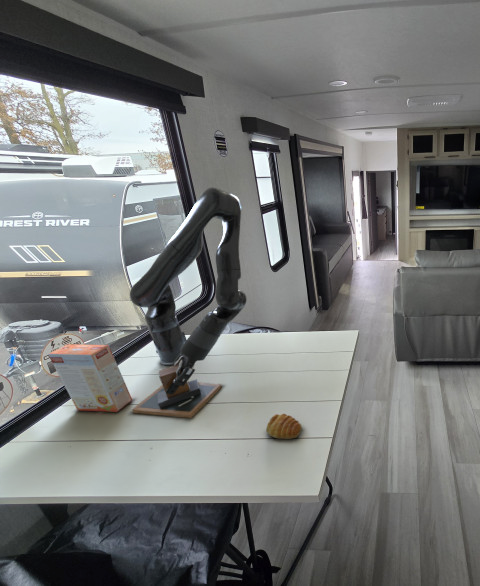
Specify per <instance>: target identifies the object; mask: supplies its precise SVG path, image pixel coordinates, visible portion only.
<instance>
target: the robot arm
mask: <svg viewBox="0 0 480 586" xmlns="http://www.w3.org/2000/svg"><path fill="white" fill-rule="evenodd" d="M213 219H217V220H221V222H222V227H223V234H222V238H221V240H220V243H219V244H218V246H217V249H216V252H215V267H216V268H215V269H216V277H217V278H216V284H215V292H214V293H215V294H214V295H215V301H216V303H217V307H216V308H214V309H213V310H210V311H209V312H208V313H207V314H205V315H204V317H203V319H202V320H201V321H200V323H199V324H198V325H197V326H196V327H195V328H194V329H193V331H192V332H191V333H190V335H189V336H188V337H186V334H185V331H182V329H181V326H180V323H179V319H178V317H177V314H176V309H177V308H176V302H175V298H174V294H173V291H172V288H171V285H170V284H171V283H172V282H173V281H174V280H175V279H176V278H177V277H179V276H180V275H181V274H182V273H184V272H185V271H186V270H187V269H188V268H189V267H190V266H191V265H192V264H193V263H194V262H195V261H196V259H197V258H198V257H199V255H201V252H202V251H203V248H204V247H203V246H204V235H203V234H204V230H205V228H206V226H207V225H208V224H209V223H210V222H211V221H212V220H213ZM241 219H242V206H241V202H240V199H239V198H238V196H236V195H234V194H232V193H229V192H227V191H224V190H222V189H220V188H217V187H208V188H206V189H204V191H203V192H202V193H201V194H200V195H199V196H198V198H197V200H196V201H195V204H194V205H193V207H192V209H191V210H190V212H189V214H188V215H187V217H186V219H185V220H184V221H183V223H182V224H181V225H180V227H179V228H178V230H177V231H176V232H175V234H174V235H173V236H172V237H171V238H170V239H169V241H168V242H167V243H166V245H165V246H164V247H163V249H162V251H161V252H160V253H159V254H158V255H157V257H156V259H155V260H154V262H153V263H152V264H151V266H150V268H149V269H148V270H147V271H146V273H144V275H143V276H142V277H141V278H140V279H138V280H137V281H136V282H135V283H134V284H133V285H132V286H131V288H130V291H129V298H130V301H131V302H132V303H133V305H135V306H136V307H139V308H147V310H146V312H145V314H144V321H145V323H146V326H147V328H148V332H149V334H150V337H151V338H152V342H153V345H154V346H155V349H156V350H155V352H156V354H157V356H158V358H159V361H160V364H161V365H163V366H171V367H172V366H175V365H178V366H179V367H178V369H177V371H176V373H175V375H176V376H175V378H174V380H173V382H172V383H171V385H170V386H169V387H168V389H167V390H166V394H170V395H173V394H174V393H175V392H176V390H177V389H178V387H179V386H180V385H181V386H184V385H185V384H186V382H187V381H188V382H189V380H190V378H191V377H192V376H193V374H194V373H195V372H196V369H195V368H194V367H195V365H196V362H200V361H201V362H202V361H204V360H205V359H206V358H207V356H208V355H209V354H210V352H211V351H212V349H213V347H214V346H215V345H216V344H217V342H218V340H219V338H220V337H221V335H222V334H223V333H224V332H225V330H226V328H227V327H228V325H229V324H230V323H231V322H232V321H233V320H234V319H235V318H236V317H237V316H238V315H239V314H240V313H241V312H242V310H243V309H244V308H245V306H246V304H247V300H248V299H247V294H245V292H244V291H243V290H240V289H239V281H240V280H241V277H242V270H241V269H242V268H241V259H240V236H241V235H240V233H241V221H242V220H241ZM180 371H181V372H182V373H180ZM180 379H181V380H180Z"/></svg>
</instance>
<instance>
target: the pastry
mask: <svg viewBox="0 0 480 586" xmlns="http://www.w3.org/2000/svg"><path fill="white" fill-rule="evenodd" d="M302 427H303V426H302V424H301V423H300V422H299V420H296V418H294V417H293V416H291V415H289V414H287V413H281V414H278V413H276V414H274V415H273V416H272V417H271V418H269V421H268V422H267V425H266V431H265V432H266V433H267V434H268V435H269V436H271V437H273V438H275V439H281V440H291V439H296V438H297V437H299V435H300V434H301V433H302Z"/></svg>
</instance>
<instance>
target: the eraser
mask: <svg viewBox="0 0 480 586" xmlns="http://www.w3.org/2000/svg"><path fill="white" fill-rule="evenodd" d="M178 367H179V366H178V365H175V366H172V365H171V366H169V367H166V368H163V369H160V370H158V375H159V379H160V382H161V386H162V385H163V387H164V390H165V391H162V392H159V393H157V396H158V405H159V407H160V408H163V407H166V406H168V405H171V404H174V403H176V402H179V401H181V400H184V399H187V398H189V397H192V396H195V395H197V394H200V393H201V391H200V388H199V384H198V383H199V381H198V379H194V380H191V381H189V380H188V381H187V382H186V384H185V385H184V386H181V385H180V386H179V387H178V389H177V390H176V392H175V393H174V394H173V395H170V394H166V390H167V389H168V387H169V386H170V385H171V383H172V382H173V380H174V378H175V376H176V375H175V373H176V371H177V369H178ZM180 373H182V372H181V371H180ZM180 380H181V379H180Z"/></svg>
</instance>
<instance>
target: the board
mask: <svg viewBox="0 0 480 586" xmlns="http://www.w3.org/2000/svg"><path fill="white" fill-rule="evenodd" d="M198 384H199V388H200V391H201V393H200V394H197V395H195V396H192V397H189V398H187V399H184V400H181V401H179V402H176V403H174V404H171V405H168V406H166V407H163V408H160V407H159V405H158V396H157V393H159V392H162V391H165V390H164V387H163V385H162V384H161V386H160V387H158V388H157V389H156V390H155V391H153V392H152V393H151V394H149V395H148V396H147V397H146V398H144V400H143V399H142V401H141V402H139V403H138V404H137V405H136V406H134V407H133V408H132V409H131V411H132V413H133V414H134V413H135V414H144V415H153V416H154V415H155V416H165V417H166V416H167V417H177V418H185V419H187V418H188V419H192V418H193V417H194V416H195V415H197V413H198V412H199V411H200V410H201V409H202V408H203V407H204V406H205V405H206V404H207V403H208V402H209V401H210V400H211V399H212V398H213V397H214V396H215V395H216V394H217V393H218V392H219V390H220V389H221V388H222V384H221V383H210V382H198Z"/></svg>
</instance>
